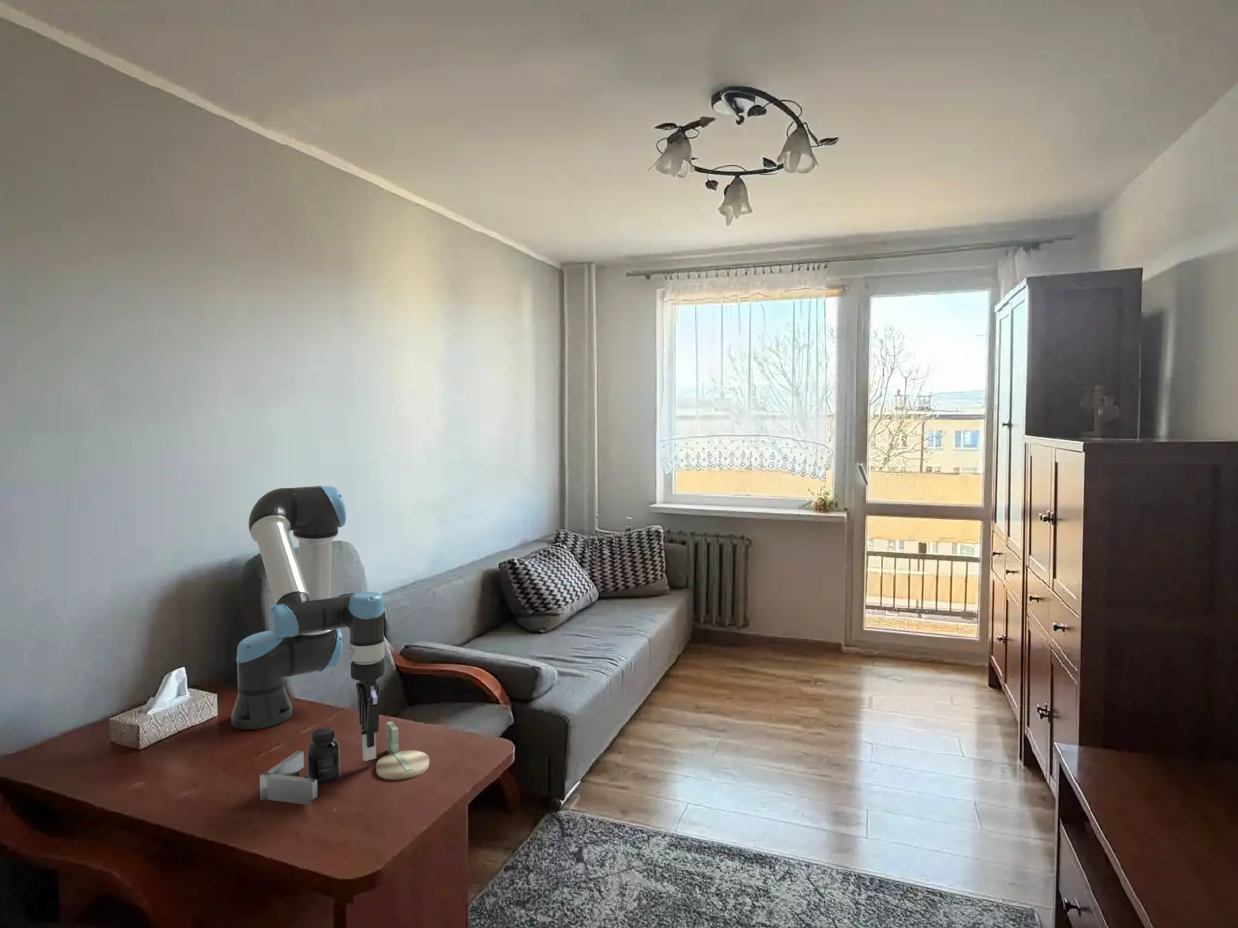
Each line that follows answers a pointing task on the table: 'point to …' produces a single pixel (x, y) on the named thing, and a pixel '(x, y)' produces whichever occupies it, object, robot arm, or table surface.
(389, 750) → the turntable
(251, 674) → the robot arm
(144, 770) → the table surface
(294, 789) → the vee block
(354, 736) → the table surface
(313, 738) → the supplement bottle
